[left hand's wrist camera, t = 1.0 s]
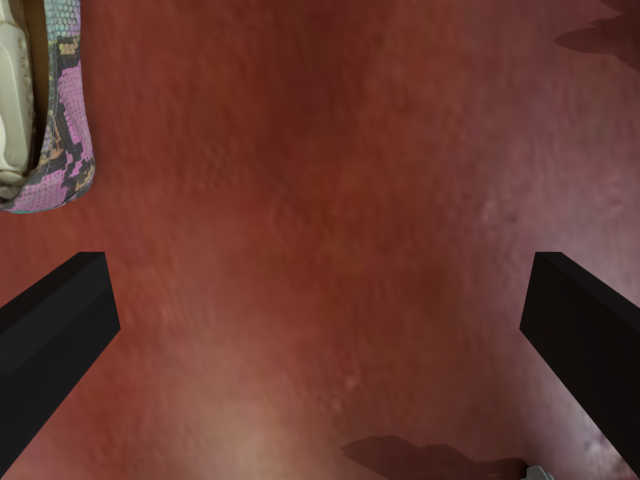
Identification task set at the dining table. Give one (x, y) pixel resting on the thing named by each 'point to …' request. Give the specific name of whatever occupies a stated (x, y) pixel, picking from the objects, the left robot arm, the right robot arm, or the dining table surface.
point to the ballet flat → (42, 107)
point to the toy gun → (537, 474)
